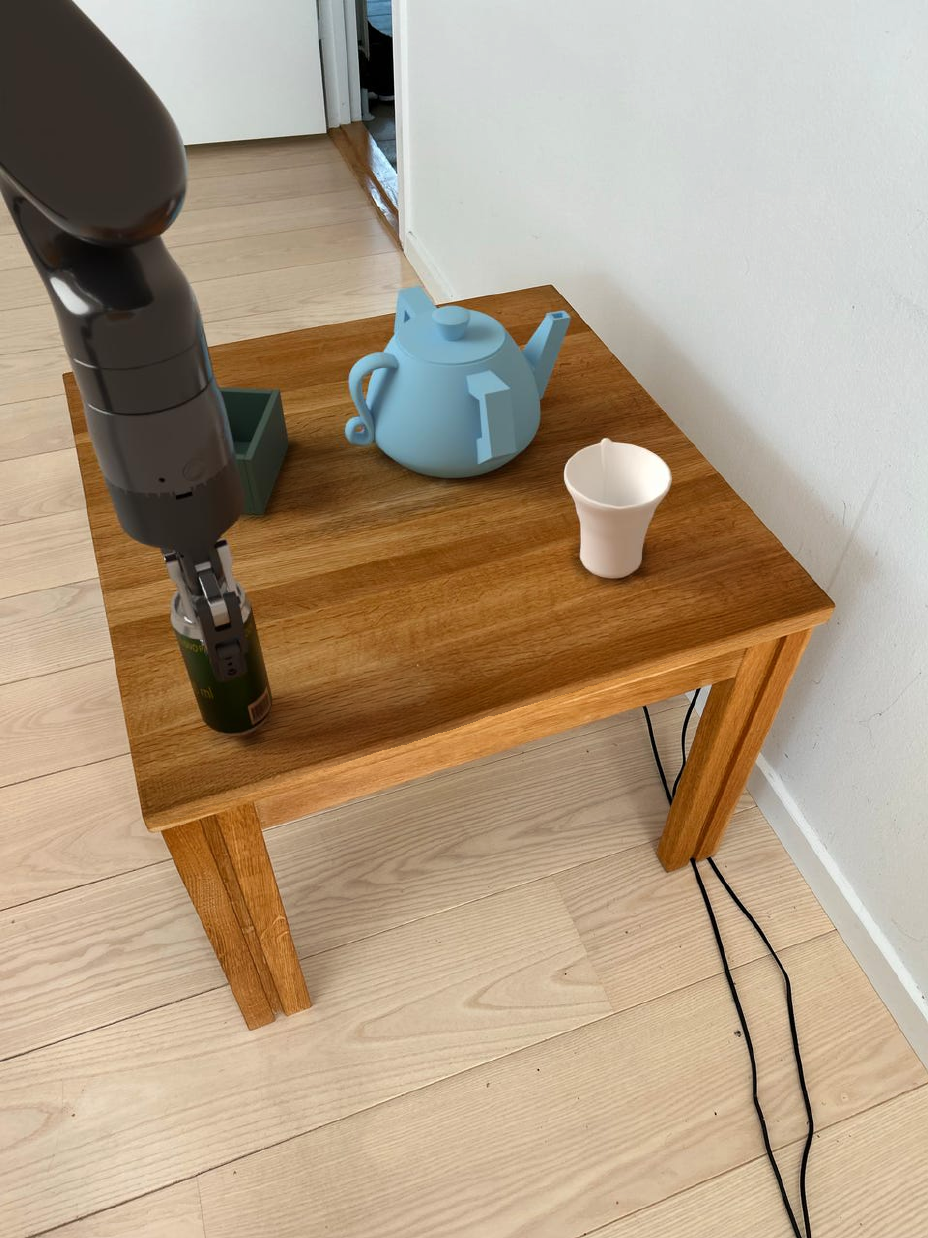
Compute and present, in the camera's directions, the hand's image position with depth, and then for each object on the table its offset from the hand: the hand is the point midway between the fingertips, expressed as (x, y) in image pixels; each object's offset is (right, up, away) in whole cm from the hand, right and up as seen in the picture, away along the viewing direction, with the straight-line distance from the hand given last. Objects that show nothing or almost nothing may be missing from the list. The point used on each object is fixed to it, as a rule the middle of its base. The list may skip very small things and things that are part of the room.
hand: (220, 645), depth 65 cm
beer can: (0, -5, +6) cm, 8 cm away
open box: (-7, +16, +27) cm, 32 cm away
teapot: (+17, +21, +32) cm, 42 cm away
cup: (+30, +7, +19) cm, 36 cm away
